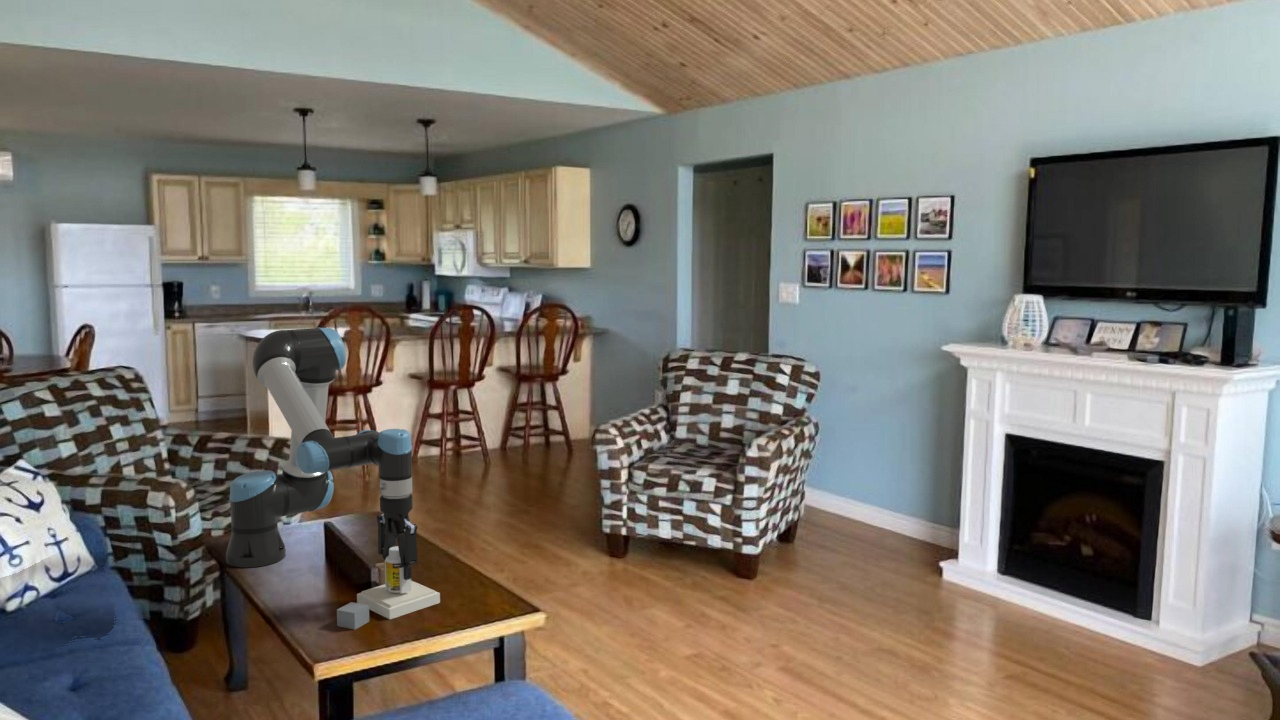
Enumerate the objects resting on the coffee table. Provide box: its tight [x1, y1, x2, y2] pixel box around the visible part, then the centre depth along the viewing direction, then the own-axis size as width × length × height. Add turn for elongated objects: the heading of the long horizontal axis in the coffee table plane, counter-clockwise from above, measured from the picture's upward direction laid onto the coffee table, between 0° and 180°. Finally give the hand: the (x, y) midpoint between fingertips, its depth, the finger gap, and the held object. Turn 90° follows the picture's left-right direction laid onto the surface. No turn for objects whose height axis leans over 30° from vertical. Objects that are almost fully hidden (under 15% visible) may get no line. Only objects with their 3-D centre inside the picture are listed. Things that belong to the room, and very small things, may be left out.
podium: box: [356, 580, 441, 620], centre depth 227 cm, size 14×14×3 cm
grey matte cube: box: [336, 601, 370, 631], centre depth 215 cm, size 5×5×4 cm
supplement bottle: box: [386, 545, 401, 593], centre depth 226 cm, size 6×6×10 cm
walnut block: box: [375, 562, 385, 586], centre depth 240 cm, size 5×4×5 cm
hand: (398, 588), depth 227 cm, fingers closed on supplement bottle, 5 cm apart
